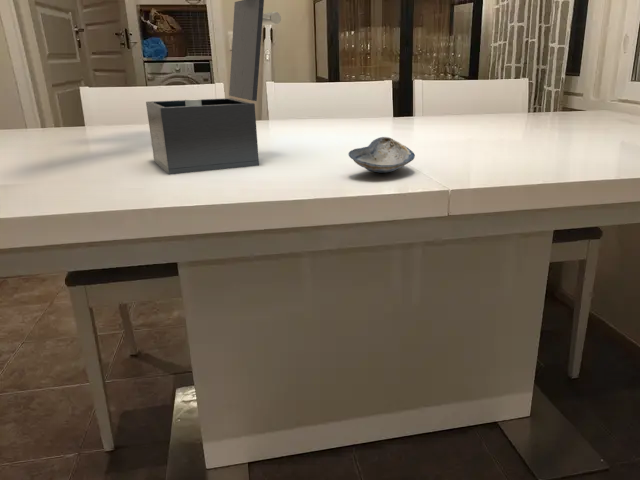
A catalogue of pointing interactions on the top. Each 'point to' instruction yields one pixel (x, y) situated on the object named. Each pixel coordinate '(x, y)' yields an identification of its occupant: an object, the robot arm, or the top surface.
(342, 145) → the top surface
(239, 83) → the box lid
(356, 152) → the seashell
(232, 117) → the black box
